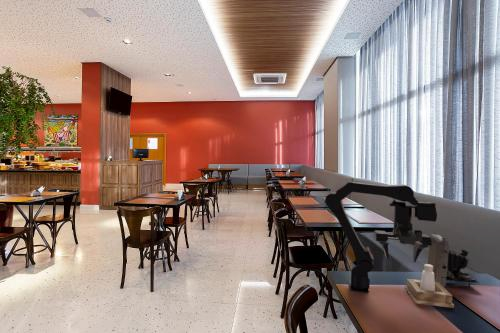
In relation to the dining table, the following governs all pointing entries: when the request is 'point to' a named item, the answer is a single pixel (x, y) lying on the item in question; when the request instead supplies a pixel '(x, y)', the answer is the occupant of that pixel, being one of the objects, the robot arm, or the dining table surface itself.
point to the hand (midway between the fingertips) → (400, 260)
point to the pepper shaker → (427, 278)
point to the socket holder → (429, 294)
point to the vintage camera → (447, 262)
